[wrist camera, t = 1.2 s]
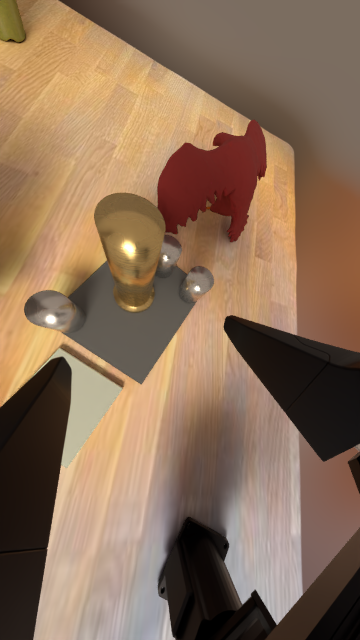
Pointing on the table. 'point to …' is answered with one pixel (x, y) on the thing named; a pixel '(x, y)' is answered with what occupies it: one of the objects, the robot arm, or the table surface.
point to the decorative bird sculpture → (213, 179)
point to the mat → (129, 322)
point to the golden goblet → (131, 247)
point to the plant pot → (10, 21)
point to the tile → (84, 403)
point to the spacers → (69, 318)
